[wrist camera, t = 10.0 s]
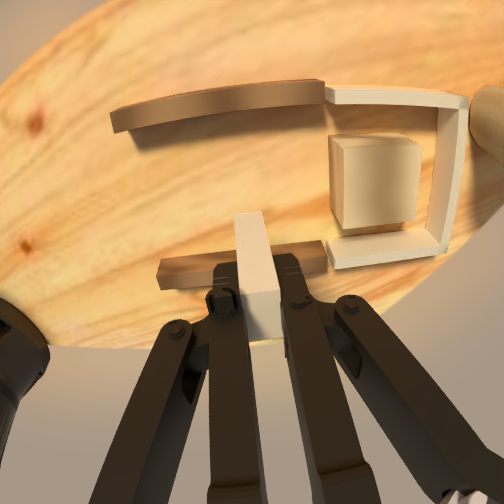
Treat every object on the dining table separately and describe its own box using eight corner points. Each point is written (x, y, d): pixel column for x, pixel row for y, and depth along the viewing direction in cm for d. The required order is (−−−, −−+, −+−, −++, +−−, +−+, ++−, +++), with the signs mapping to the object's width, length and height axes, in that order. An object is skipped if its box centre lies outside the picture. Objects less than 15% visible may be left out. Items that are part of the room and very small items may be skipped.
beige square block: (329, 205, 26) (343, 229, 23) (327, 134, 23) (343, 148, 19) (394, 198, 26) (414, 220, 23) (397, 131, 23) (422, 146, 19)
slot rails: (165, 272, 29) (160, 290, 27) (121, 107, 20) (109, 113, 18) (320, 254, 28) (326, 271, 26) (315, 79, 20) (324, 81, 18)
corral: (326, 249, 28) (334, 269, 26) (322, 85, 20) (334, 89, 18) (431, 236, 28) (446, 253, 25) (447, 91, 20) (469, 97, 18)
